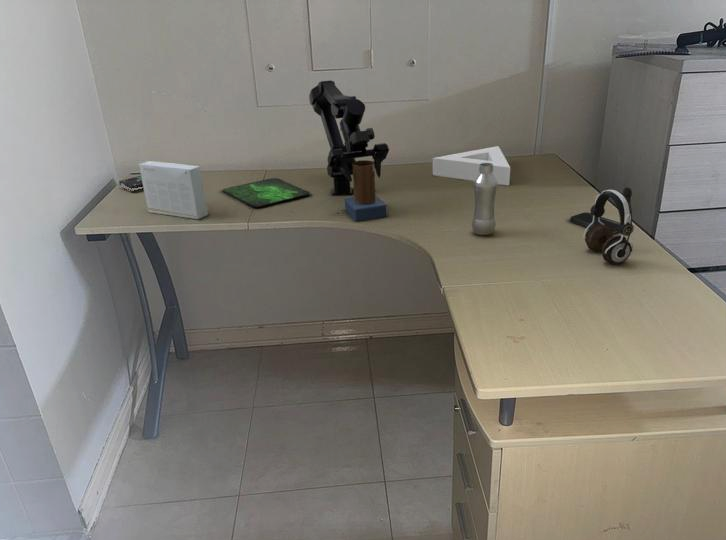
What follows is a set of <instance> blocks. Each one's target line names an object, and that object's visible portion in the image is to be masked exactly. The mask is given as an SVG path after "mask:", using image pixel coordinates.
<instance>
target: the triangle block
mask: <svg viewBox="0 0 726 540" xmlns="http://www.w3.org/2000/svg"><path fill="white" fill-rule="evenodd" d="M481 163H492V164H493V172H492V174H493V175H494V177H495V178H496V180H497V185H501V186H502V185H503V186H510V179H511V166H510V164H509V162H508V161H507V159H506V156H505V155H504V154H503V151H502V150H501V148H500V146H499V145H497V146H496V145H495V146H491V147H485V148H480V149H475V150H468V151H463V152H458V153H453V154H448V155H442V156H437V157H433V158H432V176H434V177H435V176H436V177H443V178H449V179H450V178H451V179H457V180H458V179H459V180H465V181H472V182H474V180H475V178H476V177H477V176H478V175H479V173H480V172H479V167H480V164H481Z"/></svg>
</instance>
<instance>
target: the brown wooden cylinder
mask: <svg viewBox="0 0 726 540" xmlns="http://www.w3.org/2000/svg"><path fill="white" fill-rule="evenodd" d="M373 161H374V160H373ZM373 161H372V160H366V159H365V160H356V162H354V163H353V164H352V166H353V175H352V184H353V197H354V200H355V203H356V204H360V205H368V204H373V203H375V201H376V197H375V195H376V170H375V167H374V162H373Z"/></svg>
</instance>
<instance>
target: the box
mask: <svg viewBox="0 0 726 540" xmlns="http://www.w3.org/2000/svg"><path fill="white" fill-rule="evenodd" d="M375 197H376V201H375V203H373V204H368V205H360V204H356V203H355V200H354V196H352V197H346V198H345V197H344V198H343V201H344V210H345V212H346V213H347V214H348V215H349V216H350V217H351V218H352V219H353V220H354V221H355V222H361V221H368V220H374V219H375V220H376V219H381V218H386V217H387V207H388V204H387V203H386V202H385V201H384V200H382V199H381V198H380V197H379V196H377V195H376V194H375Z"/></svg>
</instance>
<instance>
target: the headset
mask: <svg viewBox="0 0 726 540" xmlns="http://www.w3.org/2000/svg"><path fill="white" fill-rule="evenodd" d="M632 196H633V191H632V188H630V187H629V186H627V187H624V189H623V191H622V192H620V191H617V190H615V189H605V190H603V191H601V192H600V194H598V195H596V196H595V202H594V204H593V205H592V206H591V207H590V213H591V214H592V215H593V222H592V223H591V224H590V225H589V226H588V227H585V230H584V232H583V238H584V242H585V244H586V245H587V248H588V249H589V250H590V251H592V252H601V254H602V258H603V260H604V261H605V262H606V263H608V264H613V265H619V264H622V263H625V261H627V260H628V258H630V256H631V253H632V252H633V249H634V247H635V246H634V243H633V242H632V241H631V240H630V237H631V234H632V233H634V228H635V227H634V224H633V209H632V205H631V202H632V201H631V197H632ZM609 199H611V200H612V201H613V203H614V204H615V206H616V209H617V212H618V214H619V221H620V222H619V223H620V225H619V227H618V231H619V232H618V233H620V234H621V235H614V234H613V232H612V230H611V228H610V227H609V226H607V225H605V224H603V223H602V222H600V217H603V216H604V215H605V213H606V212H605V211H606V209H605V206H606V204H607V202H608V200H609ZM595 217H598V221H599V223H601V224H596V225H594V226H592V227H591V228H589V227H590V226H591V225H592V224H593V223H594V218H595Z"/></svg>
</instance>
